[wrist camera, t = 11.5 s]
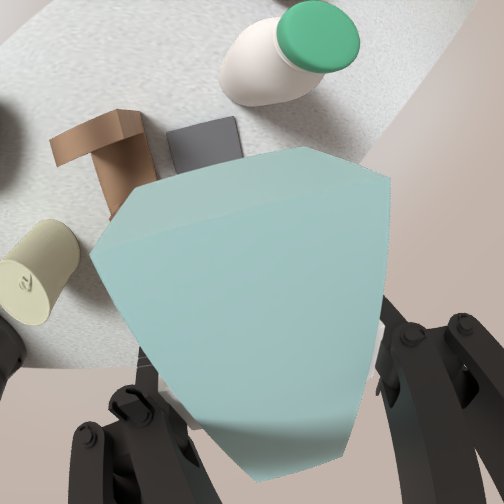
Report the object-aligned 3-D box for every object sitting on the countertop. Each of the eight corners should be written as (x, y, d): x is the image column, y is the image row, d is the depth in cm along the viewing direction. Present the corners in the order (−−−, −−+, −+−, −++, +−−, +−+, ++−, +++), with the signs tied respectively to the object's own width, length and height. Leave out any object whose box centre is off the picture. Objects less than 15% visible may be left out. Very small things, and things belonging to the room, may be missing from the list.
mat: (201, 256, 37) (201, 258, 37) (166, 132, 29) (166, 132, 28) (258, 241, 38) (259, 243, 37) (233, 116, 30) (233, 116, 29)
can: (91, 246, 33) (60, 299, 23) (64, 286, 35) (37, 340, 24) (44, 206, 29) (-2, 245, 18) (22, 251, 31) (-16, 296, 20)
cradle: (142, 281, 37) (132, 330, 28) (87, 131, 26) (49, 140, 17) (187, 269, 38) (188, 318, 29) (139, 111, 27) (116, 109, 18)
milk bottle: (276, 112, 30) (375, 115, 13) (213, 102, 28) (241, 79, 11) (286, 55, 27) (388, 9, 10) (223, 44, 25) (265, -38, 8)
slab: (243, 427, 15) (256, 482, 11) (134, 187, 7) (89, 254, 4) (319, 405, 15) (342, 456, 12) (304, 146, 8) (390, 177, 4)
